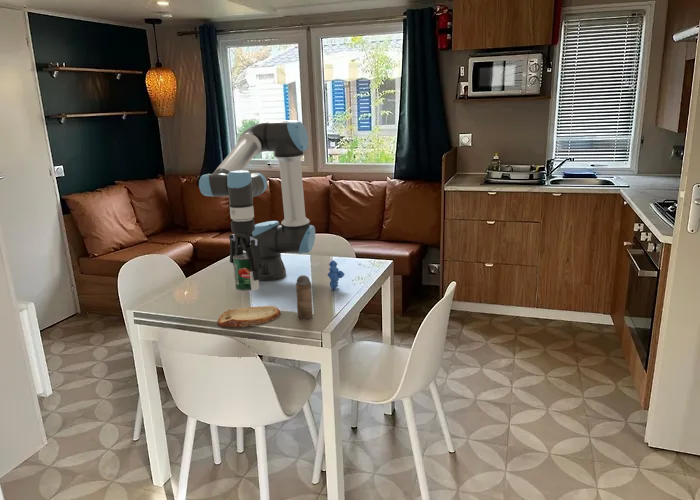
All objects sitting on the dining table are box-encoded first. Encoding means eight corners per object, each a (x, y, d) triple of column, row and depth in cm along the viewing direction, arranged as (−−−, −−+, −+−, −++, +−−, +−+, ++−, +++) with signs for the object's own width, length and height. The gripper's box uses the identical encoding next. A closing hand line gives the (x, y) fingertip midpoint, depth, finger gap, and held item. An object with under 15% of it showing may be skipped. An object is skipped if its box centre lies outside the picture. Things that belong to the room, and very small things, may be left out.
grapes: (345, 293, 213) (344, 263, 210) (327, 294, 213) (326, 263, 210) (345, 284, 224) (344, 255, 221) (328, 285, 224) (326, 256, 221)
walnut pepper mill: (294, 317, 190) (292, 275, 186) (306, 313, 193) (303, 272, 190) (304, 320, 186) (302, 278, 183) (315, 316, 190) (313, 275, 186)
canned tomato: (248, 282, 191) (245, 251, 188) (264, 286, 186) (262, 254, 184) (230, 288, 185) (227, 256, 182) (247, 292, 180) (244, 259, 178)
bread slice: (284, 312, 196) (284, 302, 195) (261, 332, 179) (260, 321, 178) (238, 309, 201) (238, 299, 200) (212, 327, 184) (211, 316, 184)
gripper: (214, 217, 185) (220, 283, 190) (251, 224, 170) (256, 295, 176) (234, 214, 190) (239, 278, 195) (271, 221, 176) (275, 290, 181)
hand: (247, 286), depth 186 cm, fingers closed on canned tomato, 8 cm apart
